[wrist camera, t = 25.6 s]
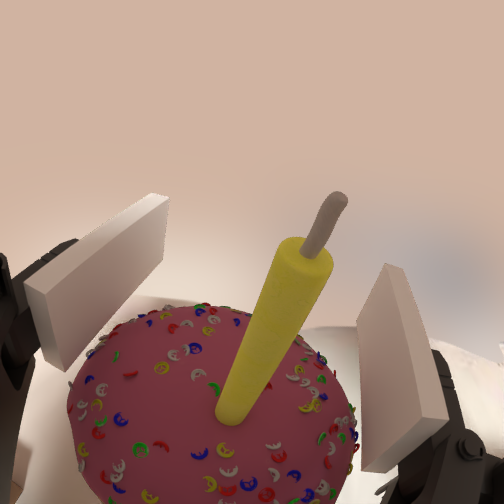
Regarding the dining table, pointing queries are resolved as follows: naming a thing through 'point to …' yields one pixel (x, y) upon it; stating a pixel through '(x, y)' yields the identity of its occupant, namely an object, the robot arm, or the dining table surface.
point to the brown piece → (14, 492)
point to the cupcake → (220, 397)
